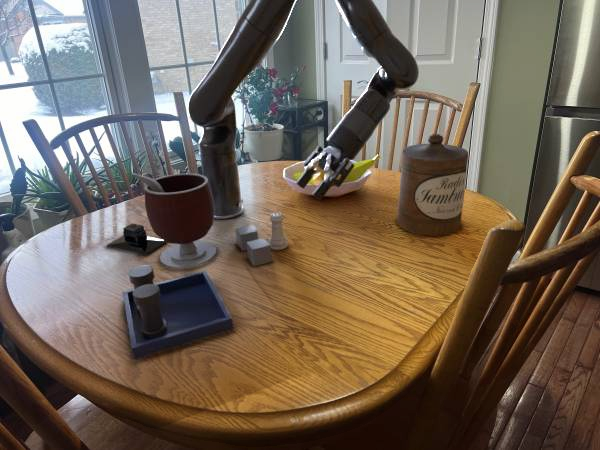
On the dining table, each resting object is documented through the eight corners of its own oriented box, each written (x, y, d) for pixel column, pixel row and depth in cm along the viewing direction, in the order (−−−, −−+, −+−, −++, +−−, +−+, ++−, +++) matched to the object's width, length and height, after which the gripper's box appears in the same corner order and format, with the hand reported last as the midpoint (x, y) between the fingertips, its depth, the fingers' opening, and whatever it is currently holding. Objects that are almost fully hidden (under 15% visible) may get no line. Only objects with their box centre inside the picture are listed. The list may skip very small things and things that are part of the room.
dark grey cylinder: (141, 328, 73) (131, 287, 70) (165, 321, 74) (157, 281, 71) (144, 342, 70) (133, 300, 66) (169, 334, 71) (160, 293, 68)
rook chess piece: (268, 242, 101) (265, 211, 98) (287, 241, 102) (285, 209, 98) (268, 251, 97) (266, 218, 94) (288, 250, 98) (286, 217, 94)
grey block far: (236, 244, 102) (235, 228, 100) (253, 240, 103) (251, 224, 101) (242, 251, 98) (240, 235, 97) (259, 246, 100) (257, 231, 98)
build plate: (167, 242, 104) (164, 224, 102) (146, 256, 98) (142, 237, 96) (128, 234, 109) (124, 217, 107) (105, 247, 103) (101, 229, 101)
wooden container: (423, 241, 98) (431, 145, 89) (385, 218, 111) (389, 132, 102) (474, 228, 104) (486, 136, 95) (432, 207, 116) (440, 124, 107)
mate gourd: (220, 238, 104) (209, 157, 96) (220, 267, 92) (208, 176, 84) (153, 246, 102) (136, 163, 94) (144, 276, 90) (124, 184, 82)
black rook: (136, 307, 79) (127, 268, 75) (159, 301, 80) (151, 263, 77) (139, 319, 75) (129, 279, 72) (162, 312, 77) (154, 273, 74)
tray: (125, 303, 81) (122, 291, 80) (207, 281, 87) (206, 270, 86) (135, 362, 66) (131, 348, 65) (233, 331, 72) (232, 318, 71)
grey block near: (248, 258, 95) (246, 242, 93) (265, 254, 96) (263, 237, 95) (254, 266, 92) (252, 249, 90) (271, 261, 93) (270, 245, 91)
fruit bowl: (266, 196, 130) (262, 159, 125) (315, 171, 150) (314, 138, 145) (348, 214, 115) (348, 172, 110) (391, 183, 135) (393, 147, 130)
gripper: (326, 118, 101) (283, 174, 101) (358, 128, 89) (310, 192, 90) (345, 137, 105) (304, 191, 106) (379, 150, 93) (333, 210, 94)
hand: (307, 191), depth 98 cm, fingers open, 8 cm apart
